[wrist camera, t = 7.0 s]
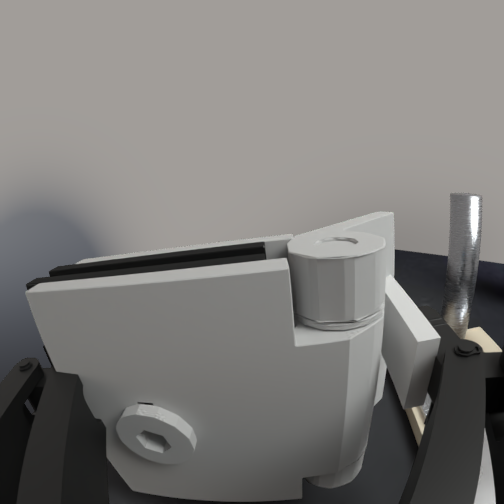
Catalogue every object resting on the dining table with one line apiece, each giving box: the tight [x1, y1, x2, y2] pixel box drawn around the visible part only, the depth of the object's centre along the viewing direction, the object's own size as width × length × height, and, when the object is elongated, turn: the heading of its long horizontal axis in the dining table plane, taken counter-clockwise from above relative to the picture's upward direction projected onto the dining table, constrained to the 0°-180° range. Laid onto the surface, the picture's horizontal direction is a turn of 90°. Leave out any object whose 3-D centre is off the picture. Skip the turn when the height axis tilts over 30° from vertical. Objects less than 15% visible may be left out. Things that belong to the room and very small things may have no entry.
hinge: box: [26, 212, 394, 502], centre depth 10 cm, size 14×5×10 cm, turn 101°
